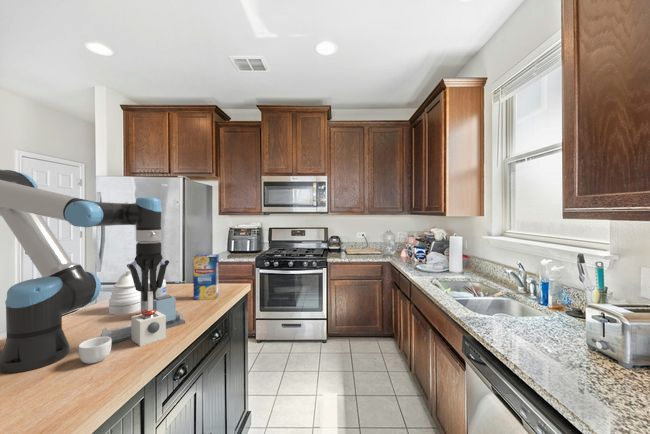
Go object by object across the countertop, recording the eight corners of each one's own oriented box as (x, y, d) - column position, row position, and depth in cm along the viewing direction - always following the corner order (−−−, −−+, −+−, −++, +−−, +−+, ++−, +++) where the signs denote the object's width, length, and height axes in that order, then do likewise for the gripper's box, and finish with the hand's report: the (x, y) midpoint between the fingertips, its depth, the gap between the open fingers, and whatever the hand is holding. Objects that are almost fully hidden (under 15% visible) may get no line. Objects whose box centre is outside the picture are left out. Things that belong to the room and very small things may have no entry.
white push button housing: (140, 346, 95) (140, 322, 95) (131, 339, 100) (131, 316, 100) (166, 338, 101) (166, 315, 101) (156, 332, 107) (156, 310, 107)
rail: (109, 344, 96) (109, 335, 96) (100, 336, 103) (100, 328, 103) (185, 323, 116) (185, 315, 116) (173, 317, 122) (173, 310, 122)
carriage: (156, 324, 110) (156, 299, 110) (151, 321, 113) (151, 297, 113) (175, 319, 116) (175, 296, 116) (170, 316, 119) (170, 294, 118)
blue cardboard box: (216, 299, 149) (216, 256, 149) (193, 300, 147) (193, 256, 147) (218, 295, 156) (218, 254, 156) (197, 296, 154) (197, 254, 154)
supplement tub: (169, 315, 125) (169, 281, 125) (143, 320, 119) (143, 284, 118) (162, 309, 132) (162, 277, 132) (138, 314, 126) (138, 280, 125)
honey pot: (149, 307, 135) (149, 269, 135) (118, 316, 123) (118, 274, 123) (133, 303, 141) (133, 266, 141) (102, 311, 129) (102, 271, 129)
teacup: (100, 366, 83) (100, 347, 83) (71, 367, 82) (71, 348, 82) (121, 350, 93) (121, 333, 93) (95, 350, 92) (95, 334, 92)
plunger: (144, 335, 98) (144, 313, 98) (139, 332, 101) (139, 310, 101) (158, 331, 101) (158, 310, 101) (153, 328, 104) (153, 307, 104)
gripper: (131, 244, 93) (131, 317, 94) (173, 241, 104) (173, 307, 104) (123, 242, 98) (123, 312, 98) (164, 240, 108) (164, 303, 108)
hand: (149, 309), depth 101 cm, fingers closed
